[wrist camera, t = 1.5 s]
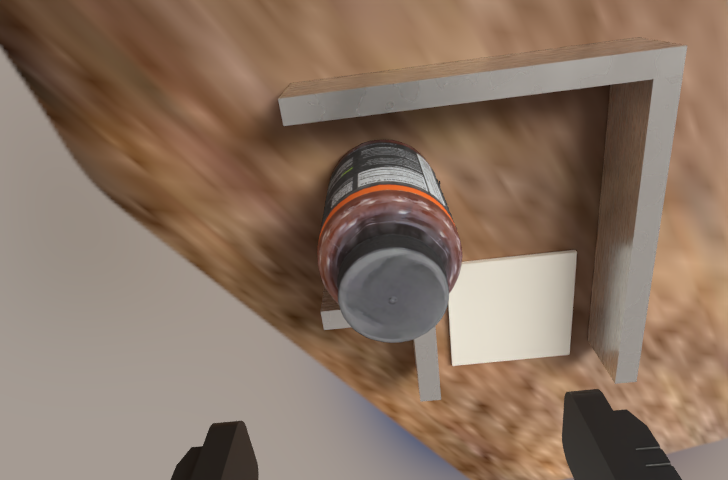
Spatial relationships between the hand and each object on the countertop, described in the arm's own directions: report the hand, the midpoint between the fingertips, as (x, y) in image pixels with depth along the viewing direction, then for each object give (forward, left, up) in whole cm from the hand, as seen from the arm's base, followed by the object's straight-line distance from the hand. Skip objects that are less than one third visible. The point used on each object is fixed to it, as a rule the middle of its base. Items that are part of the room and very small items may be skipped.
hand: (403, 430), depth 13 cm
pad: (+9, +7, -17) cm, 20 cm away
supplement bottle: (0, 0, -17) cm, 17 cm away
